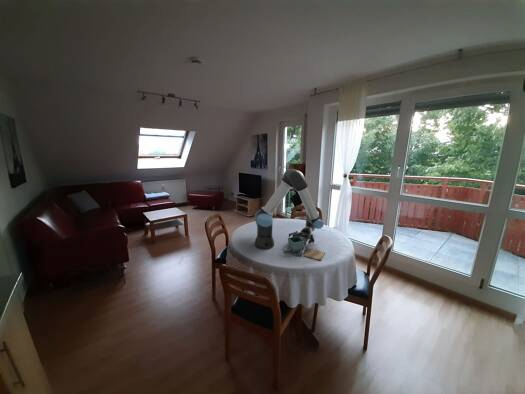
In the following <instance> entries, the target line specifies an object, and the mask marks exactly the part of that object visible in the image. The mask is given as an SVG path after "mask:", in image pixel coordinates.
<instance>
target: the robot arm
mask: <svg viewBox="0 0 525 394" xmlns="http://www.w3.org/2000/svg"><path fill="white" fill-rule="evenodd" d="M280 181H281V183H280V184H279V186H277V188H276V190H275V191H274V193H273V194H272V195H271V196H270V198H269V200H268V201H267V202H266V204H265V206H262V207H261V208H260V209H258V210H257V211H256V212H255V213H254V222H255V224H256V228H257V229H256V238H255V240H254V246H255V248H257V249H259V250H270V249H271V248H274V246H275V240H274V237H273V222H274V220H273V216H274V212H275V211H276V209H277V208H278V206H279V205H280V203H281V202H282V201H283V199H284V198H285V197H286V196H287V194H288V193H289V191H290V190H292V189H294V190H295V192H297V193H298V195H299V197H300V200H301V202H302V205H303V207H304V209H305V210H306V211H305V212H306V214H305V215H306V216H305V217H306V218H305V226H304V227H303V228H302V229H301V231H298V230H296V231H293V232H291V233H288V238H290V237H295V236H298V237H300V238H305V239H306V240H307V241H306V242H305V247H307V246H308V245H309V244H311V243H313V244H314V243H315V238H314V234H313V232H314V231H315V230H316V229H318V230H319V229H320V230H321V229H322V228H323V227H324V221H323V220H322V219H321V217H320V214H319V212H318V210H317V208H316V206H315V203H314V201H313V198H312V196H311V193H310V191H309V189H308V188H309V185H308V182H307V180H306V178H305V175H304V174H303V173H302V171H300V170H297V169H295V168H289V169H286V171H284V172H283V177H282V179H280Z"/></svg>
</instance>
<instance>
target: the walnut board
mask: <svg viewBox="0 0 525 394" xmlns="http://www.w3.org/2000/svg"><path fill="white" fill-rule="evenodd" d="M325 255H326V252H325V251H321V250H318V249H314V248H309V247H308V248H307V250H306V251H305V252H304V253H303V257H306V258H309V259H312V260H317V261H319V262H321V261H322V259H323V257H324V256H325Z"/></svg>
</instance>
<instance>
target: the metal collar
mask: <svg viewBox="0 0 525 394" xmlns="http://www.w3.org/2000/svg"><path fill="white" fill-rule="evenodd" d="M289 249H290V247H289V244H288V245H287V246H286V247H284V249H283V253H286V254H290V255H293V256H298V257H300V258H301V257H302V256H304V254H305V253H306V251H307V250H308V247H307V246H306V245H303V248H302V249H303V250H302V249H301V251H300V253H299V252H293V251H292V250H289Z"/></svg>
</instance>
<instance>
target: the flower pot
mask: <svg viewBox="0 0 525 394" xmlns="http://www.w3.org/2000/svg"><path fill="white" fill-rule="evenodd" d="M287 241H288V245H289V249H290V251H292V252H296V253H299V252H302V248H303V246H304V244H305V240H304V239H302V237H298V236H295V237H290V238H289V237H288V238H287Z"/></svg>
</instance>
